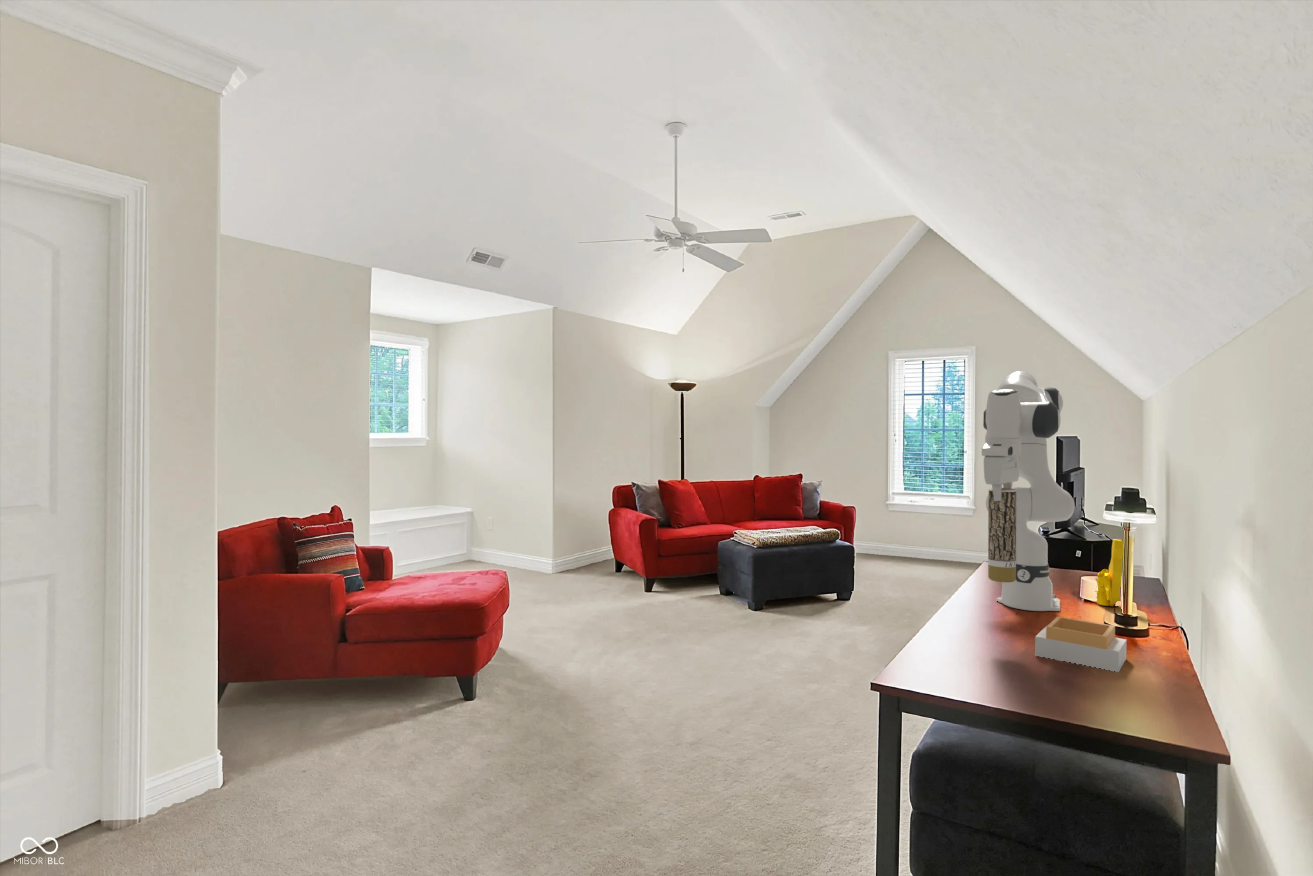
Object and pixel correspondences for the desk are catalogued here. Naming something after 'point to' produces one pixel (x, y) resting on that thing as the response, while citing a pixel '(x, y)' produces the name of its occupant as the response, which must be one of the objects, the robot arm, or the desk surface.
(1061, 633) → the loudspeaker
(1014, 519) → the paper tube
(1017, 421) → the robot arm
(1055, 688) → the desk surface
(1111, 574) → the figure statuette
